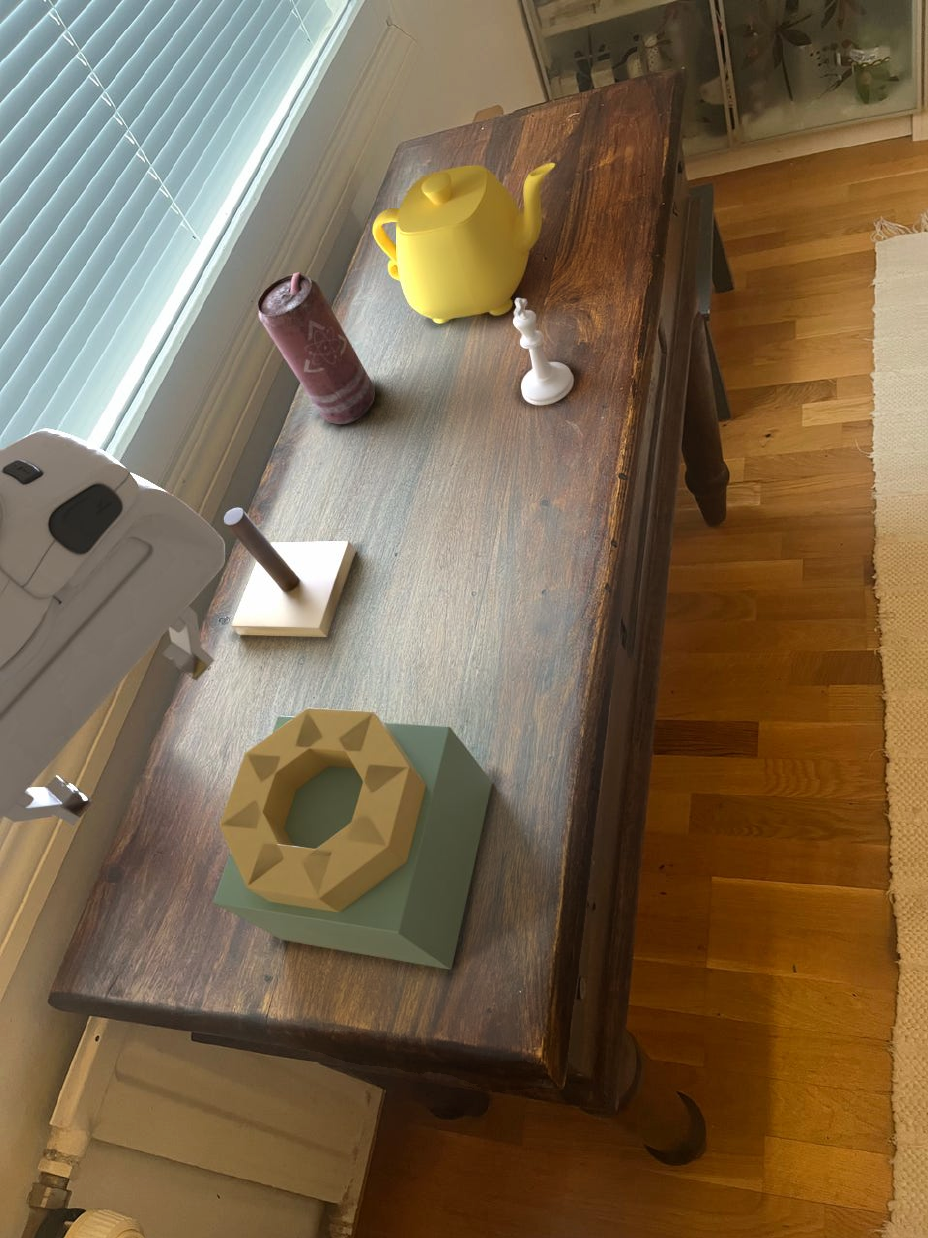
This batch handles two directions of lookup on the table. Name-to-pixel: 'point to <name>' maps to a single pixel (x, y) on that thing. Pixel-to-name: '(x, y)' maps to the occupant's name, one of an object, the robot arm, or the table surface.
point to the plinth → (413, 894)
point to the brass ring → (355, 850)
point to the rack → (289, 583)
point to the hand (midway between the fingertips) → (140, 735)
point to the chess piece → (539, 363)
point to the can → (316, 348)
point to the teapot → (462, 241)
